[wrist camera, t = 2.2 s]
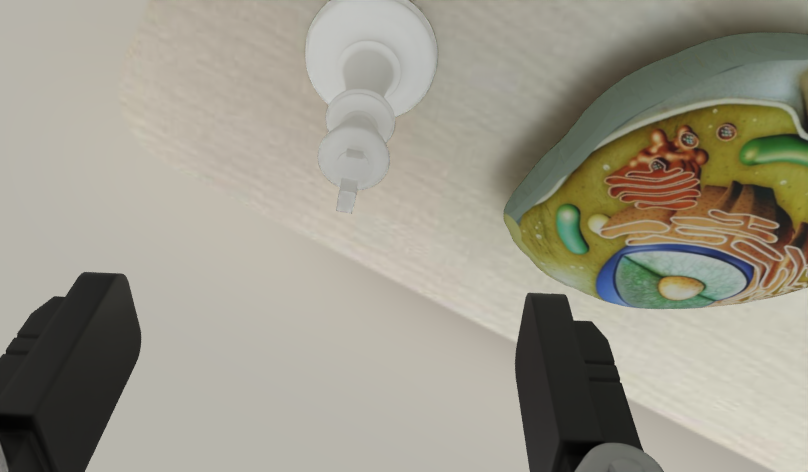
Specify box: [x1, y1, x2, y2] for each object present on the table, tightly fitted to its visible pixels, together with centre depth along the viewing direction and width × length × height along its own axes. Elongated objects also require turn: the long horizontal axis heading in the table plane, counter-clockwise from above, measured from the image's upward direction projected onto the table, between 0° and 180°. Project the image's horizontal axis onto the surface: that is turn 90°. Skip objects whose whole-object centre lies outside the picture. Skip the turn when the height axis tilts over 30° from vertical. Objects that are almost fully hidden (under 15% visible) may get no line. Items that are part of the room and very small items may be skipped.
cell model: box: [504, 32, 808, 309], centre depth 25 cm, size 11×8×15 cm
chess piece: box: [305, 0, 438, 214], centre depth 21 cm, size 5×5×10 cm
